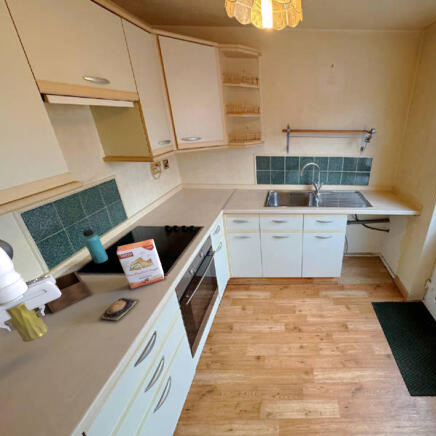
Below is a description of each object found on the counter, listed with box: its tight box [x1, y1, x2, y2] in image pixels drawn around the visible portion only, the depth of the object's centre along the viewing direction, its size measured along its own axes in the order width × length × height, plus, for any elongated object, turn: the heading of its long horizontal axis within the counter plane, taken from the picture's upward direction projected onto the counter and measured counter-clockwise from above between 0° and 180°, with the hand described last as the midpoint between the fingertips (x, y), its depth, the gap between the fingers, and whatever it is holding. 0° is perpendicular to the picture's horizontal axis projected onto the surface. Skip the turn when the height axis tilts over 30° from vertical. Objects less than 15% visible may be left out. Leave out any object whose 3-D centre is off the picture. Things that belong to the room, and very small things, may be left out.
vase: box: [6, 302, 49, 343], centre depth 74 cm, size 6×6×14 cm
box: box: [46, 270, 91, 314], centre depth 100 cm, size 13×13×8 cm
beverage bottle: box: [82, 229, 109, 264], centre depth 121 cm, size 6×7×20 cm
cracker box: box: [116, 238, 165, 290], centre depth 107 cm, size 14×6×21 cm, turn 119°
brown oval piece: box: [101, 297, 137, 322], centre depth 95 cm, size 11×8×4 cm
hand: (27, 322), depth 75 cm, fingers closed on vase, 5 cm apart
